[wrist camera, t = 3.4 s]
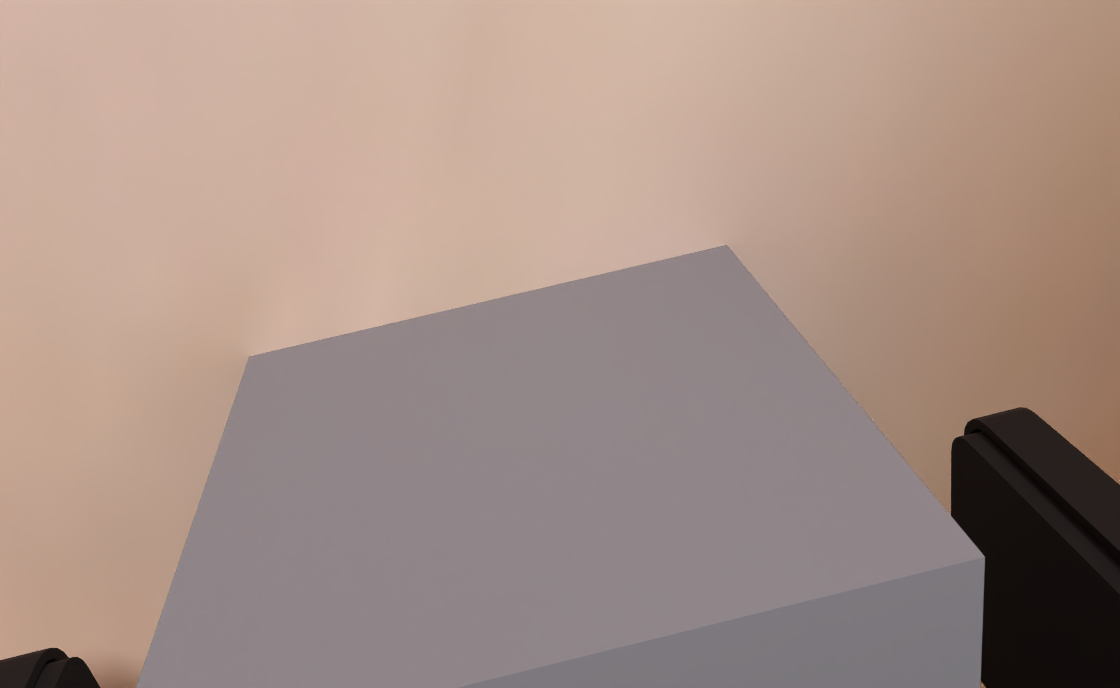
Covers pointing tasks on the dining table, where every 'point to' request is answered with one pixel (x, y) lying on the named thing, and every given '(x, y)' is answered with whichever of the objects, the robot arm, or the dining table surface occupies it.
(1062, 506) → the robot arm
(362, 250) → the dining table surface
